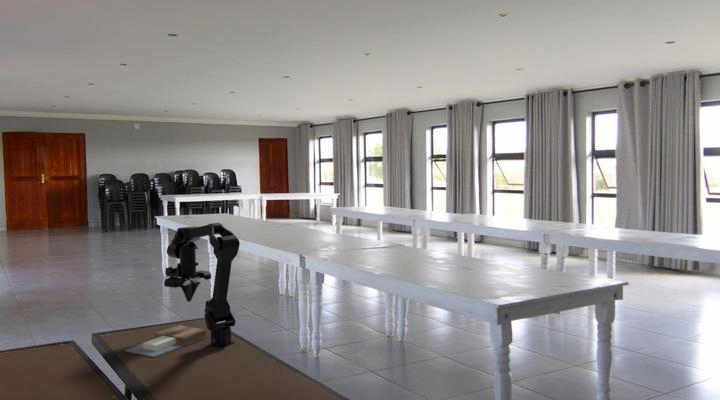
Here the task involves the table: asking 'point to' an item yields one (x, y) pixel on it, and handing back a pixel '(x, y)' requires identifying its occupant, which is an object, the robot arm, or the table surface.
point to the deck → (183, 334)
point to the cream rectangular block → (159, 343)
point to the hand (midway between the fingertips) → (189, 301)
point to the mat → (152, 353)
